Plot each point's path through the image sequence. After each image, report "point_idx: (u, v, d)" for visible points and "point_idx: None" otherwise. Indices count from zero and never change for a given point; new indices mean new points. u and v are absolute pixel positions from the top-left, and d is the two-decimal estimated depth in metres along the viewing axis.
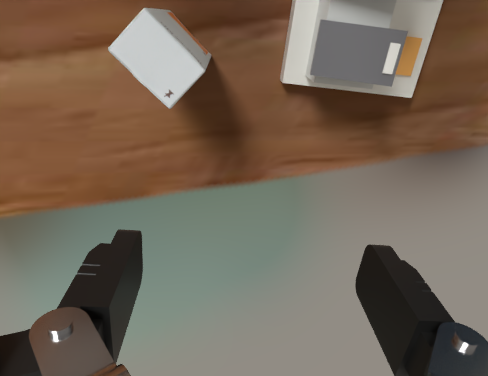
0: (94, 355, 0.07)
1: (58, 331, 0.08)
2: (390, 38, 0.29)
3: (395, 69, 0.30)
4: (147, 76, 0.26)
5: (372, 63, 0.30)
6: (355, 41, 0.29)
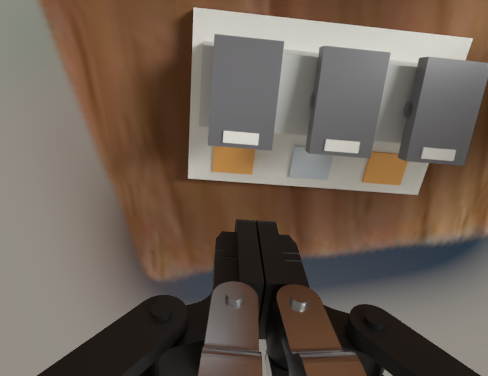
0: (247, 333, 0.08)
1: (231, 299, 0.09)
2: (263, 132, 0.24)
3: (228, 145, 0.24)
4: None
5: (234, 116, 0.24)
6: (259, 90, 0.23)
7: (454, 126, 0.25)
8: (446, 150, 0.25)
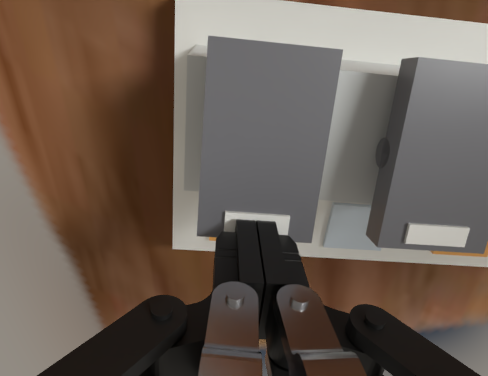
0: (247, 333, 0.08)
1: (232, 299, 0.09)
2: (297, 213, 0.13)
3: None
4: None
5: (244, 186, 0.13)
6: (291, 140, 0.12)
7: None
8: None
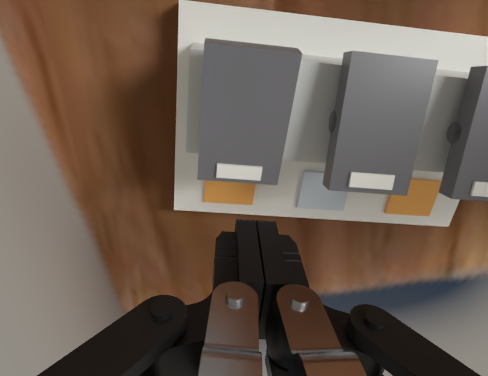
0: (247, 333, 0.08)
1: (232, 299, 0.09)
2: (267, 165, 0.19)
3: (223, 179, 0.19)
4: None
5: (230, 147, 0.18)
6: (264, 116, 0.18)
7: None
8: None
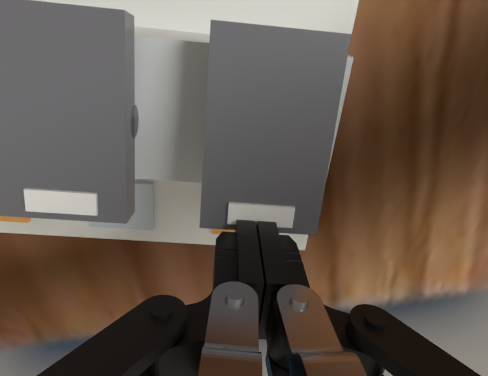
0: (247, 333, 0.08)
1: (231, 299, 0.09)
2: None
3: None
4: None
5: None
6: None
7: (287, 163, 0.12)
8: (276, 208, 0.13)
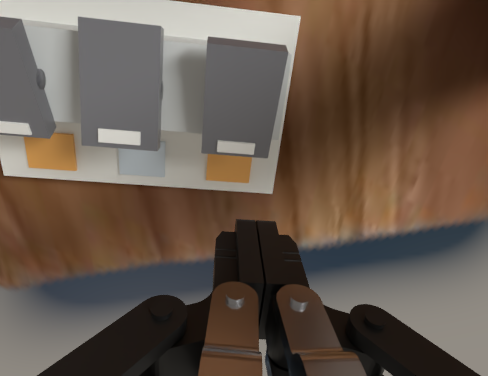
0: (247, 333, 0.08)
1: (231, 299, 0.09)
2: (32, 122, 0.22)
3: None
4: None
5: None
6: (6, 82, 0.20)
7: (251, 120, 0.22)
8: (244, 144, 0.23)
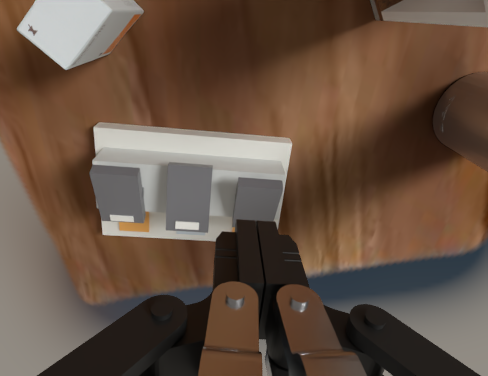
0: (247, 333, 0.08)
1: (231, 299, 0.09)
2: (135, 215, 0.38)
3: (115, 221, 0.38)
4: (45, 6, 0.25)
5: (114, 208, 0.37)
6: (127, 198, 0.36)
7: (261, 214, 0.38)
8: None
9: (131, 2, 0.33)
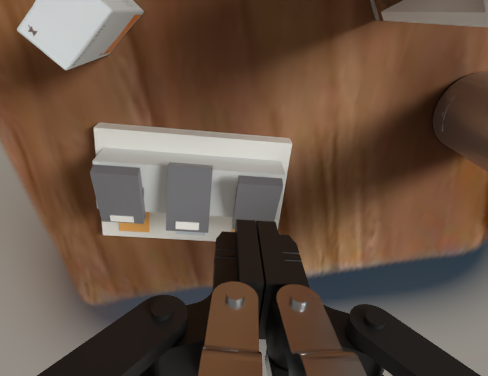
0: (247, 333, 0.08)
1: (231, 299, 0.09)
2: (135, 216, 0.38)
3: (115, 221, 0.38)
4: (45, 7, 0.25)
5: (114, 209, 0.37)
6: (127, 198, 0.36)
7: (261, 214, 0.38)
8: None
9: (131, 2, 0.33)
